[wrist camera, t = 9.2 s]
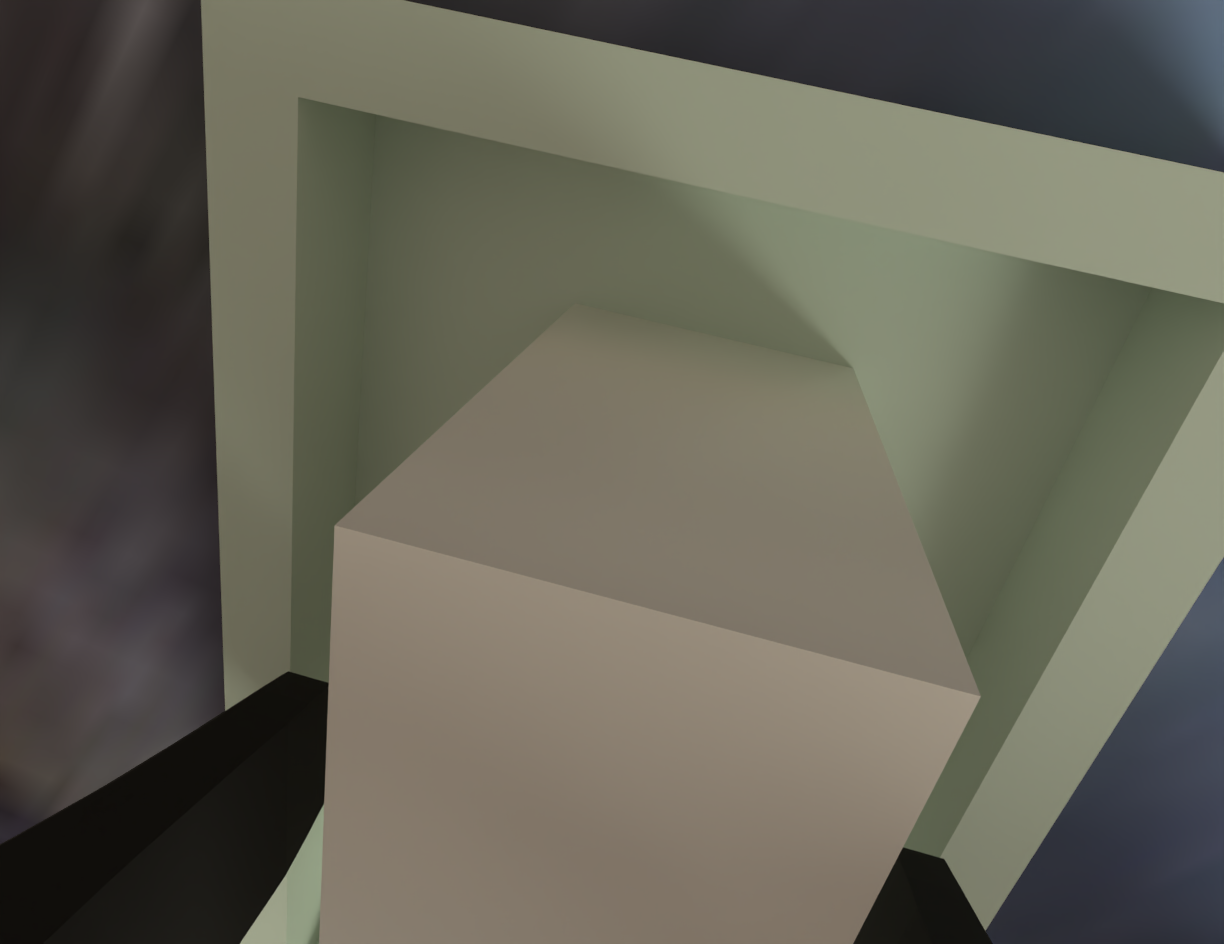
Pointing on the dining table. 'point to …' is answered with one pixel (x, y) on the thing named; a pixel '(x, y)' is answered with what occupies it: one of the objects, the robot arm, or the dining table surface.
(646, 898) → the beige rectangular block
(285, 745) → the robot arm
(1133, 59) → the dining table surface
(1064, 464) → the tray
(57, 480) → the dining table surface
